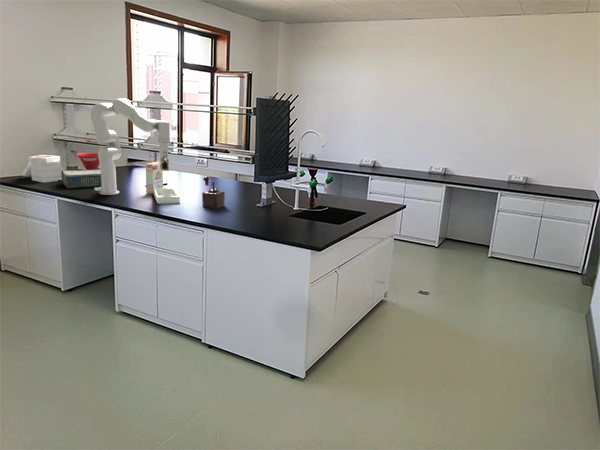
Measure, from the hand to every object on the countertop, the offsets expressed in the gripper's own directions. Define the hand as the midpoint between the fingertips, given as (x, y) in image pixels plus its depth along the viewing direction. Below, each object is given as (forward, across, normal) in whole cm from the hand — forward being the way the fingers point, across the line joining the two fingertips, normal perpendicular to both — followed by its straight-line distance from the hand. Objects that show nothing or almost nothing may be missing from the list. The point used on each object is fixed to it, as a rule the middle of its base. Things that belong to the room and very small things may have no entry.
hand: (164, 167), depth 304 cm
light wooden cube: (+2, 0, 0) cm, 2 cm away
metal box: (+21, -58, -50) cm, 79 cm away
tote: (+20, +5, 0) cm, 21 cm away
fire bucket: (+21, -86, -48) cm, 101 cm away
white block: (+19, +14, 0) cm, 24 cm away
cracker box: (+21, -22, -5) cm, 31 cm away
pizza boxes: (+21, -85, -83) cm, 121 cm away
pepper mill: (+21, +28, +25) cm, 43 cm away
